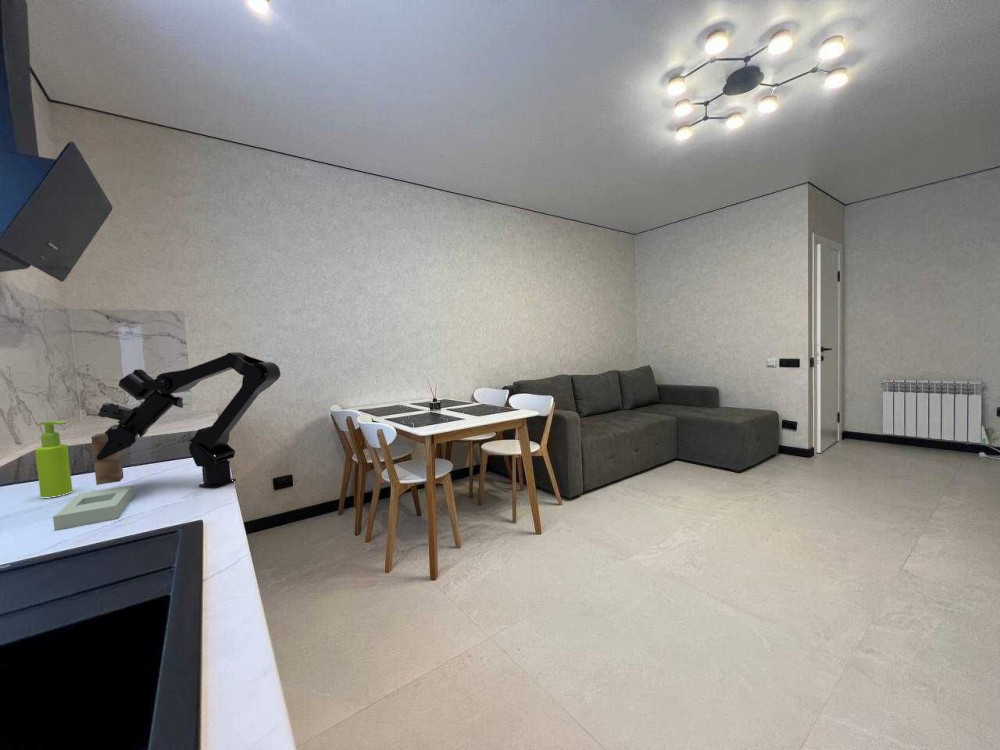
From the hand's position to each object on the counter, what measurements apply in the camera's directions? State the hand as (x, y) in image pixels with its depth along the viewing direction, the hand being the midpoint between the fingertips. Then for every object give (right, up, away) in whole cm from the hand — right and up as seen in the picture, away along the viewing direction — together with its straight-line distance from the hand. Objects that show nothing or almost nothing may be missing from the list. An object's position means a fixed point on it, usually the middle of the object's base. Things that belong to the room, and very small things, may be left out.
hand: (100, 457), depth 109 cm
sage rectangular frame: (+9, -11, -10) cm, 18 cm away
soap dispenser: (-14, -11, +3) cm, 19 cm away
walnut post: (+1, -6, +1) cm, 7 cm away
